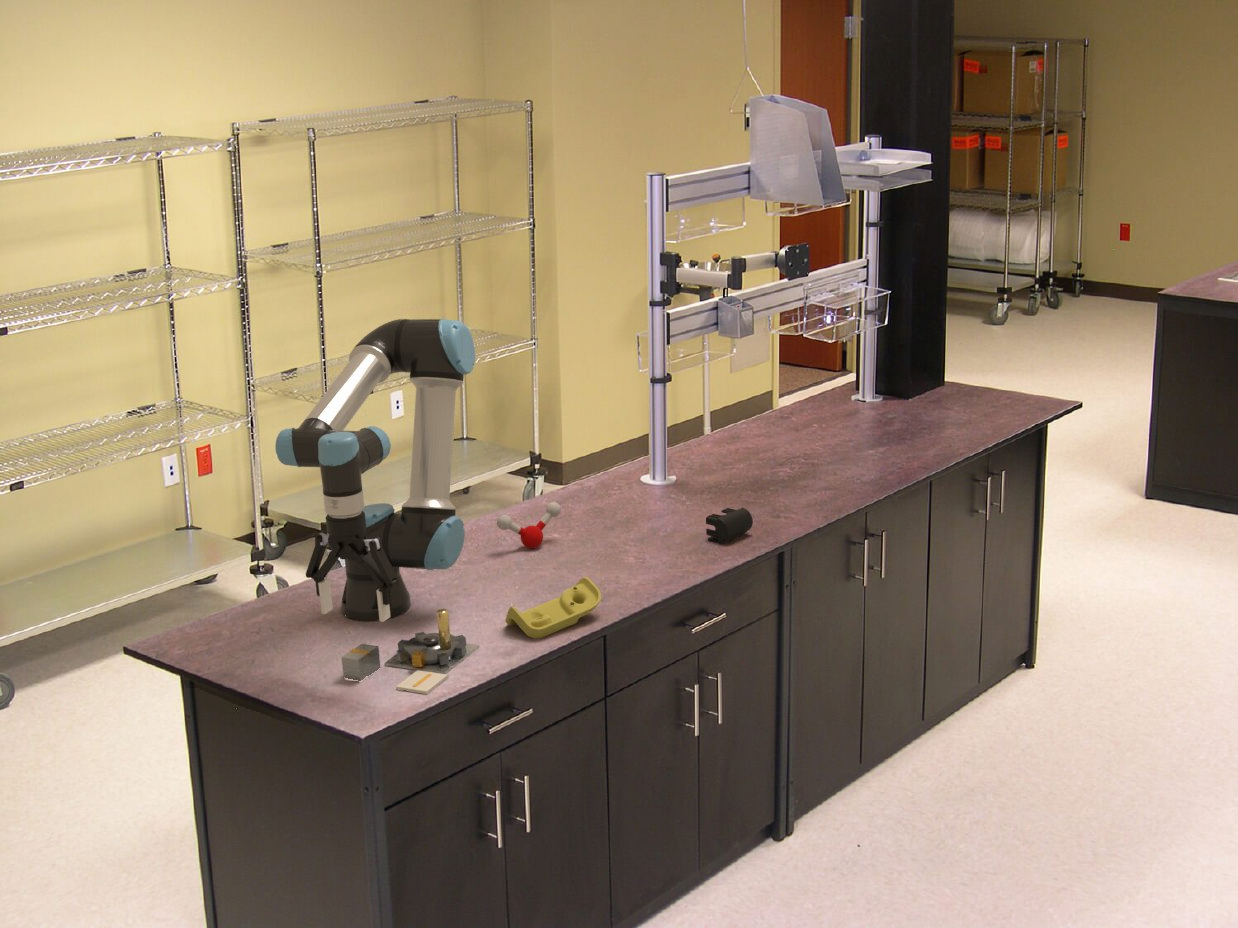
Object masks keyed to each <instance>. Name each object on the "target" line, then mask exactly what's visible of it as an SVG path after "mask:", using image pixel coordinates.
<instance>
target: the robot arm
mask: <svg viewBox="0 0 1238 928" xmlns="http://www.w3.org/2000/svg"><path fill="white" fill-rule="evenodd" d="M475 361H476V348H475V343H474V339H473V336H472V334H471V331H470V328H469V327H468V326H467V325H466V324H465V323H464V322H462V321H460V320H455V319H446V318H439V319H438V318H435V319H434V318H432V319H430V318H429V319H425V318H424V319H423V318H422V319H420V318H419V319H416V318H415V319H412V318H411V319H410V318H409V319H408V318H398V319H394V320H391V321H389V322H388V321H387V322H385V323H383V324H380V325H379V326H378V327H376V328H374V329H373V330H372V331H371V332H369V333H367V334H366V335H365V336H364V337H362V338H361V340H360V341H358V343H356V344H355V346H354V348H352V350H351V351H350V353H349V356H348V363H347V364H346V365H345V367H344V368H343V370H342V371H341V372H340V374H339V375H338V376H337V377H336V379H335V380H334V381H333V383H332V384H331V385H330V387H328V389H327V391H325V392H324V394H323V396H322V397H321V398H320V400H318V402H317V403H316V405H315V406H314V407H313V408H312V410H311V411H310V412H309V413H308V415H307V416H306V417H305V419H304V420H303V421H302V423H301V424H300V425H299V426H298V427H297V428H295V427H290V428H284V429H281V431H279V433H278V435H277V437H276V440H275V445H274V446H275V447H274V448H275V454H276V455H277V459H278V461H279V462H280V464H282V465H285V466H291V467H298V468H319V469H320V476H321V484H322V494H323V495H322V496H323V503H324V504H323V505H324V513H325V514H326V516H325V525H326V531H322V532H320V533H318V534H316V536H314V548H313V551H312V554H311V557H310V560H309V563H308V565H307V569H306V572H305V577H306V578H309V579H310V578H311V579H312V580H313V581H314V583H315V590H316V595H317V597H319V601H320V602H319V603H320V612H321V614H322V615H326V614H328V613H329V612H331V611H332V610H333V609H334V607H333V601H332V600H333V599H332V590H331V581H330V578H327V577H328V574H329V573H330V571H331V570H332V568H333V567H334V565H335V564H336V563H337V561H338V560H339V559H340V560H344V566H345V567H344V568H345V574H346V581H345V584H344V588H343V593H342V598H341V603H340V604H341V605H340V606H341V613H342V612H343V613H342V614H344V615H346V616H347V617H346V616H345V617H346V618H348V617H349V618H348V619H350V618H352V619H351V620H354V619H357V620H356V621H379V622H380V623H384V622H385V621H387V620H389V619H390V618H394V617H396V616H399V615H402V614H403V613H405V612H407V611H408V610H409V609H410V608H411V604H412V602H411V595H410V592H409V590H408V589H407V586H406V584H405V581H404V579H403V577H402V574H401V571H400V568H406V569H417V570H419V569H421V570H427V571H433V570H434V571H435V570H437V571H438V570H448V569H450V568H451V567H452V566H453V565H455V564H456V562H457V561H458V559H459V557H460V556H461V554H462V550H463V547H464V543H465V537H466V536H465V535H466V534H465V533H466V531H465V527H464V526H465V524H464V521H463V519H462V518H460V517H459V516H457V515H456V510H457V508H456V507H455V505H454V504H453V503H452V502H451V501H450V493H451V476H452V463H453V462H452V461H453V460H452V459H453V441H454V428H455V427H454V425H455V410H456V407H455V406H456V394H457V393H456V392H457V390H458V389H459V388H460V387H461V386H463V384H464V378H465V376H464V375H468V374H471V372H472V371H473V369H474V366H475V363H476V362H475ZM396 373H397V374H398V373H409V381H410V382H411V383H412V384H413V385H414V387H415V401H414V417H413V418H414V419H413V420H414V421H413V432H412V433H413V435H412V436H413V437H412V451H411V465H410V466H411V469H410V483H409V498H408V499H407V500H406V501H405V502H403V504H402V505H401V513H395V511H396V510H395V508H394V506H393V505H392V504H390V503H385V502H384V503H372V504H367V505H365V499H364V491H363V490H364V489H363V484H362V483H363V482H362V481H363V480H362V474H365V472H367V471H369V470H371V469H372V468H374V467H376V466H379V465H380V464H381V463H382V462H384V460H385V459H387V458H388V456H389V454H390V453H391V446H392V445H391V441H390V437H389V436H388V434H387V433H386V432H385V430H383V429H382V428H381V427H378V426H374V425H372V426H366V427H363V428H361V429H359V430H346V427H347V426H348V424H349V423H350V422H351V421H352V420H353V418H354V417H355V415H356V413H358V411H359V410H360V408H361V407H362V406H363V404H364V403H365V401H366V400H367V399H368V398H369V396H370V395H371V393H372V392H373V390H374V389H375V388H376V386H377V385H378V384H380V383H383V382H385V381H386V380H387V379H388V378H389V376H390V375H393V374H396ZM328 545H329V546H330V547H331V550H330V551H329V553H328V554H327V557H326V559H325V560H324V562H323V563H322V561H323V559H324V556H325V553H326V550H327V546H328ZM321 564H322V565H321ZM344 615H343V616H344Z"/></svg>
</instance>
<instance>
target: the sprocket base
mask: <svg viewBox="0 0 1238 928" xmlns="http://www.w3.org/2000/svg"><path fill="white" fill-rule="evenodd" d="M479 648H480V645H479V644H474V643H468V642H466V654H465V655H464V656H463V657H460V656H455V657H453V658H452V659H449V663H448V664H444V665H440V664H439V663H433V664H425V665H424V666H422V667H416V666H413V664H412V662H411V661H409V660H406V661H402V662H400V661H399V660H398V657H397V654H395V655H394V656H392V657H391V658H390V659H388V660H387V661H386V662H384V666H386V667H393V668H399V669H400V668H401V669H405V670H414V671H417V670H420V671H427V672H433V673H440V674H448V673H449V672H450V671H451V670H452V669H454V668H455V667H456V666H457V665H459V664H460V663H461V662H463V661H464V660H465V659H467V658H468V657H469V656H470V655H472V654H473V653H474V652H476V651H477V650H478V649H479ZM471 653H472V654H471Z"/></svg>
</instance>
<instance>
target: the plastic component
mask: <svg viewBox="0 0 1238 928" xmlns="http://www.w3.org/2000/svg"><path fill="white" fill-rule="evenodd" d="M601 593H602V592H601V590H600V589H599V588H598V586H597V585H596V584H595V583H594V582H593V581H592V580H591V579H590V577H588V576H585V577H581V578H580V580H578V581H577V582H576V583H575V585H573V586H571V587H570V588H567V589H565V590H564V591H562V592H561V594H560V596H559V597H556V598H553V599H550V600H548V601H547V602H546V601H545V602H544V603H541V604H538V605H536V606H534V607H531V608H529V609H526V610H524V611H522V612H520V611H519V610H518V608H516V606H510V607H509V608H508V611H507V613H506V617H505V619H504V620H505V622H506V625H508V626H516V625H517V626H518V627H519V628H520V629H521V630H522V631H523V632H524V634H525V635H526V636H528V637H529V638H531V639H536V638H537V639H541V638H544V637H547V636H549V635H552V634H554V633H556V632H558V631H559V632H560V631H561V630H563V629H566V628H568V627H571V626H573V625H575V624H577V623H578V621H579V619H580V618H582V617H584V616H586V615H588V614H589V613H591V612H592V611H593V610H595V608H596V607H598V605H599V604H600V602H601V600H602V594H601Z"/></svg>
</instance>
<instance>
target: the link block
mask: <svg viewBox="0 0 1238 928" xmlns="http://www.w3.org/2000/svg"><path fill="white" fill-rule="evenodd" d="M379 650H380V649H379V645H374V644H372V645H371V644H367V643H361V644H358V645H357V646H355V648H352V649H351V650H349V652H347V653H345V654H344V655H343V656H341V666H342V674H343V678H344V677H345V678H348V679H353V680H358V681H361V680H363V679H364V678H365V677H366V676H369V675H371V674H372V673H374V672H375V671H377V670H378V669H379V668H382V667H381V659H380V651H379ZM379 670H380V669H379ZM379 670H378V671H379ZM378 671H377V672H378ZM375 673H376V672H375ZM375 673H374V674H375ZM372 675H373V674H372ZM372 675H371V676H372Z"/></svg>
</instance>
